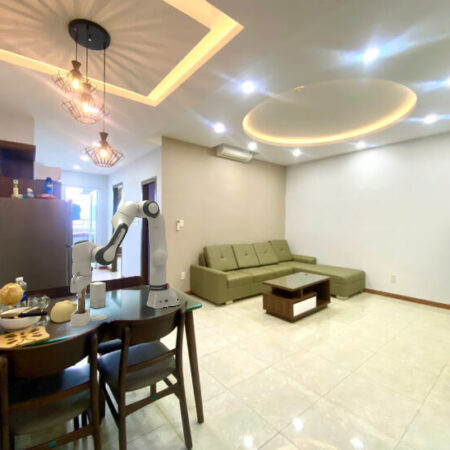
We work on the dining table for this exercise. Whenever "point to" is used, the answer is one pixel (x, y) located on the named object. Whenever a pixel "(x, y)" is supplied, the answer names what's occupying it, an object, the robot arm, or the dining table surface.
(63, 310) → the pale yellow rounded lump
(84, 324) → the pen cup
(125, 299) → the dining table surface
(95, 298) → the skincare box
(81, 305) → the dowel
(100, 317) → the coaster
